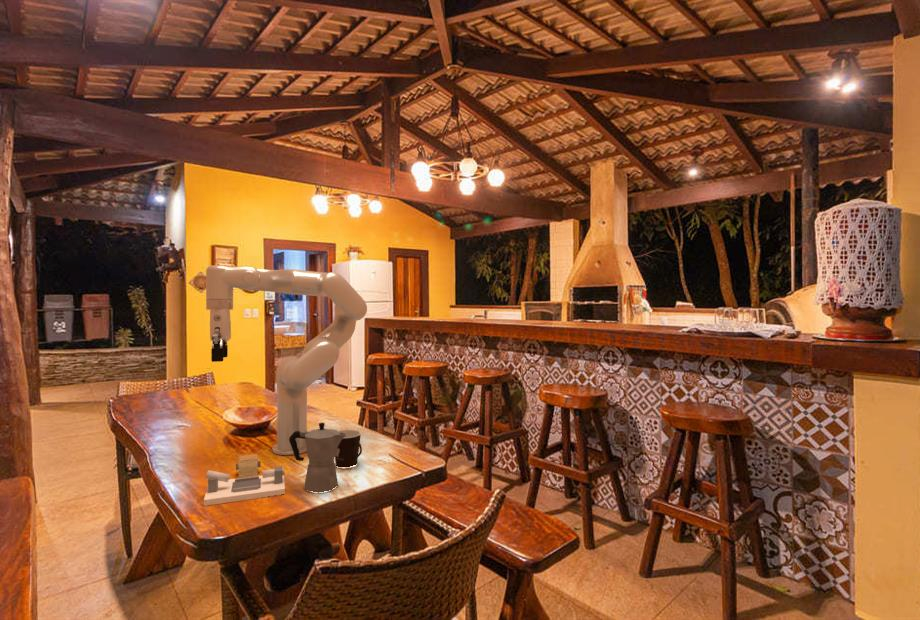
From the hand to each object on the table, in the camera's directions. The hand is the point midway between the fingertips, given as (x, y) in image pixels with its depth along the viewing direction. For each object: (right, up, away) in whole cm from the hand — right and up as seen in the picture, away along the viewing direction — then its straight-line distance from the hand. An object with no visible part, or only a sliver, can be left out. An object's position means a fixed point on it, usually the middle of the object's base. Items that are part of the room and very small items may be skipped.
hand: (219, 359), depth 145 cm
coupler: (+13, -33, -9) cm, 37 cm away
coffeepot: (+36, -34, -17) cm, 52 cm away
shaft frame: (+18, -33, -21) cm, 43 cm away
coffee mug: (+41, -33, -2) cm, 53 cm away
